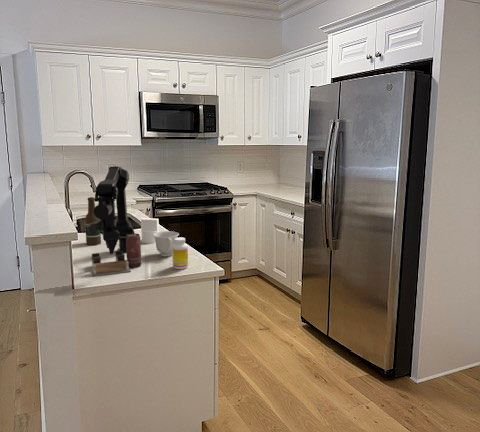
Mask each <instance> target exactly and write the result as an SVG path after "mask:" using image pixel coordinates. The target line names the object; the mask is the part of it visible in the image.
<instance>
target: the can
mask: <svg viewBox="0 0 480 432" xmlns="http://www.w3.org/2000/svg"><path fill="white" fill-rule="evenodd" d="M141 243H142V240H141V236H140V234H139V233H137V232H134V233H133V234H127V236H126V252H125V253H126V260H128V262H129V268H130V269H132V268H139V267H142V245H141Z"/></svg>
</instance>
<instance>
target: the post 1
mask: <svg viewBox="0 0 480 432" xmlns="http://www.w3.org/2000/svg"><path fill="white" fill-rule="evenodd" d="M101 261H102V260H101V256H100V253H99V252H98V253H91V264H92V267H93V264H97V263H102V262H101Z"/></svg>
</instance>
